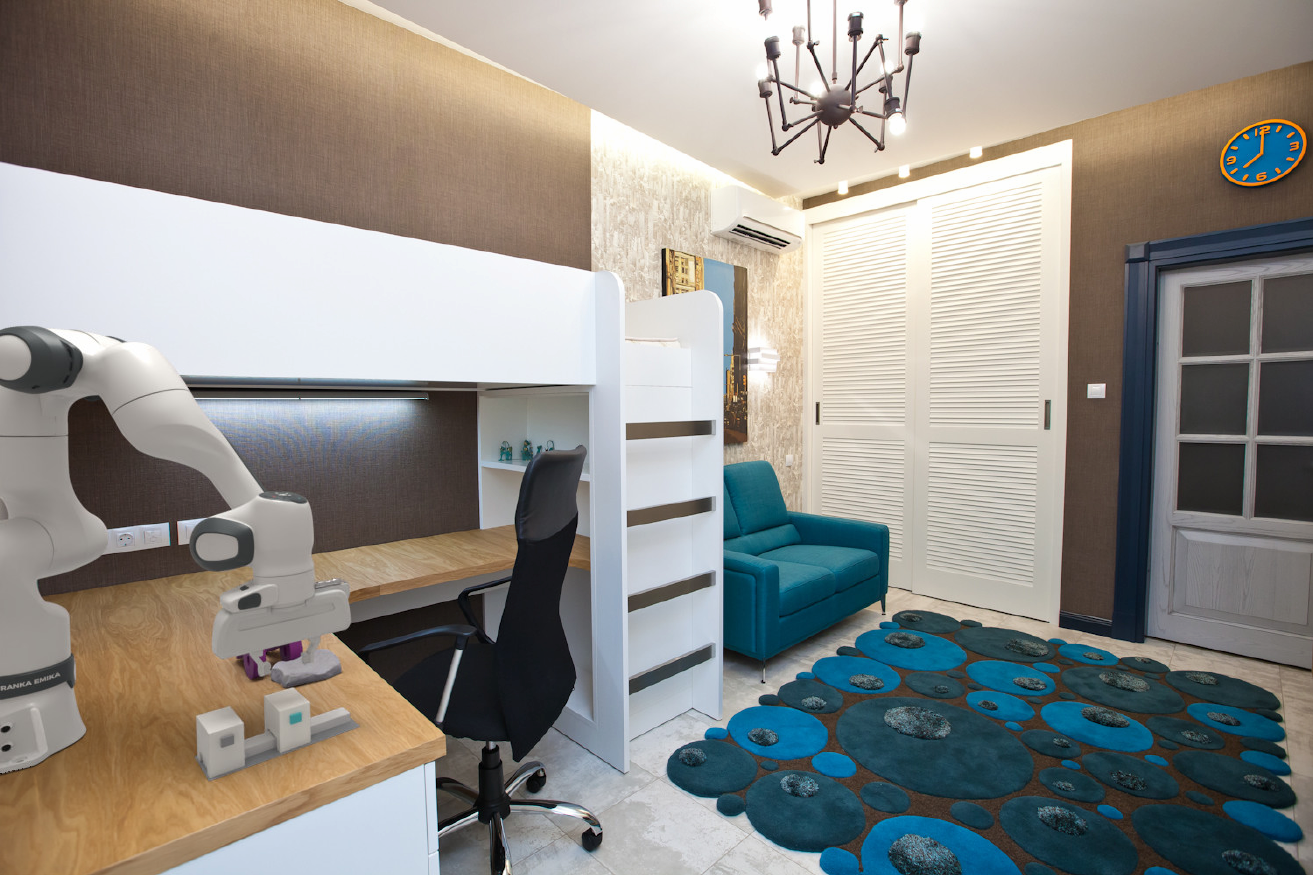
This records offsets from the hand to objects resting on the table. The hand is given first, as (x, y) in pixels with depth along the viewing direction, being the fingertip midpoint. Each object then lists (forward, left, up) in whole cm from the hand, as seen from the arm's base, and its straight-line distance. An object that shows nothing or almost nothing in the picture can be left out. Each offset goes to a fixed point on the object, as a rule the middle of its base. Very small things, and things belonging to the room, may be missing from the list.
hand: (286, 668), depth 103 cm
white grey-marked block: (-9, 0, -12) cm, 15 cm away
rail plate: (-1, 0, -13) cm, 13 cm away
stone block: (+12, +28, -14) cm, 33 cm away
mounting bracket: (+8, +42, -14) cm, 45 cm away
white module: (0, 0, -12) cm, 12 cm away
